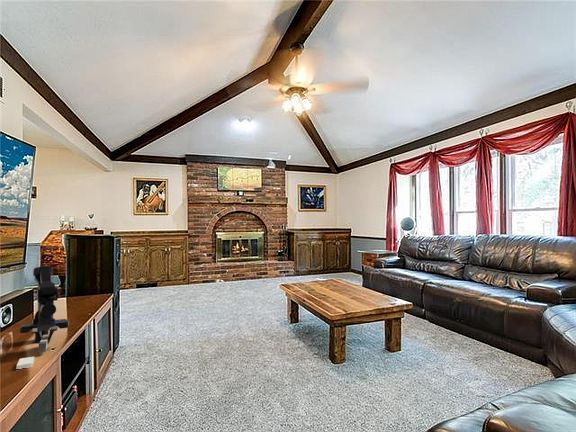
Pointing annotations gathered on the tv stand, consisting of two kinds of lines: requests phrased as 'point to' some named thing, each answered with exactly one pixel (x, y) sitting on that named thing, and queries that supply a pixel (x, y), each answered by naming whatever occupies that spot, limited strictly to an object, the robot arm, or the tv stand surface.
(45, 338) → the curved white panel
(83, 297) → the tv stand surface
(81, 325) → the tv stand surface
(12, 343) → the tv stand surface
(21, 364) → the tile
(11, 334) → the tv stand surface
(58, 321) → the smartphone
